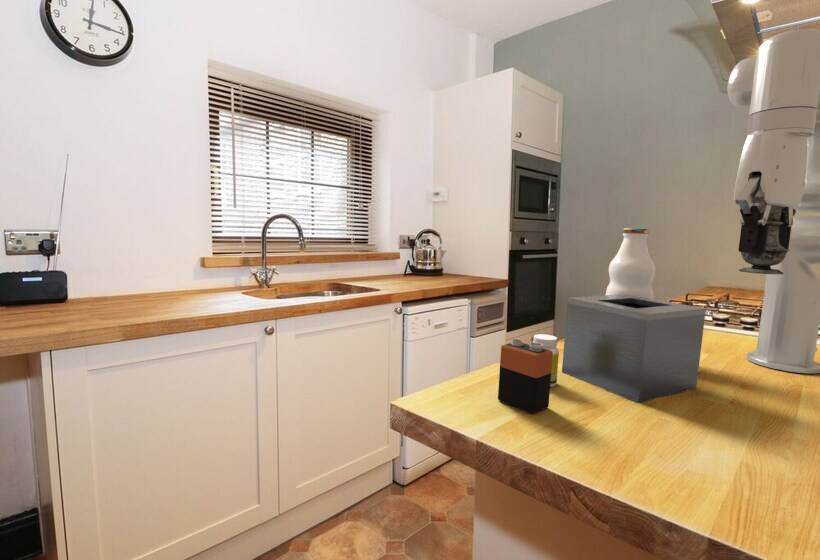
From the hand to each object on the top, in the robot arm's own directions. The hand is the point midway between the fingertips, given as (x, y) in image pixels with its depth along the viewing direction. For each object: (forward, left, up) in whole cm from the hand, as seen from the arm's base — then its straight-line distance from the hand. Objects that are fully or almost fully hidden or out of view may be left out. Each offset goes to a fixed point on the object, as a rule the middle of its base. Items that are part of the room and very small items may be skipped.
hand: (763, 251), depth 66 cm
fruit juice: (-10, -28, -25) cm, 39 cm away
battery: (+30, -16, -25) cm, 42 cm away
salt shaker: (0, 0, -3) cm, 3 cm away
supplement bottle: (+20, -22, -25) cm, 39 cm away
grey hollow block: (+4, -17, -25) cm, 31 cm away
